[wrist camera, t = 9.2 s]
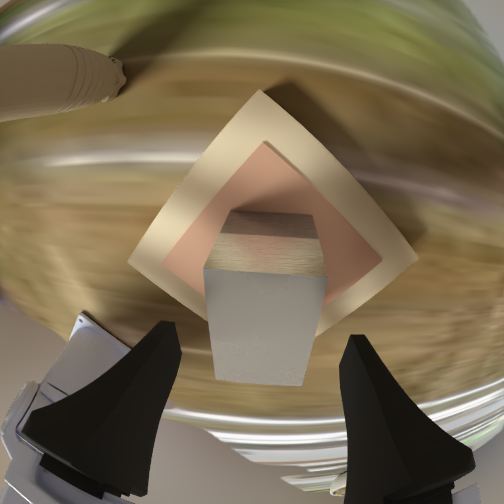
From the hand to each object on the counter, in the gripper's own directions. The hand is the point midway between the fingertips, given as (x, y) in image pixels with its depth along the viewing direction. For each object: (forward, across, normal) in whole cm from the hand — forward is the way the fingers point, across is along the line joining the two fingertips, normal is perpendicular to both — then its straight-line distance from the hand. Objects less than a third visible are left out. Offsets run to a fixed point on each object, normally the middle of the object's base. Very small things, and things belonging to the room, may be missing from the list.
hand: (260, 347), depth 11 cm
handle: (+9, +11, -12) cm, 19 cm away
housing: (+7, 0, 0) cm, 7 cm away
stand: (+9, 0, 0) cm, 9 cm away
